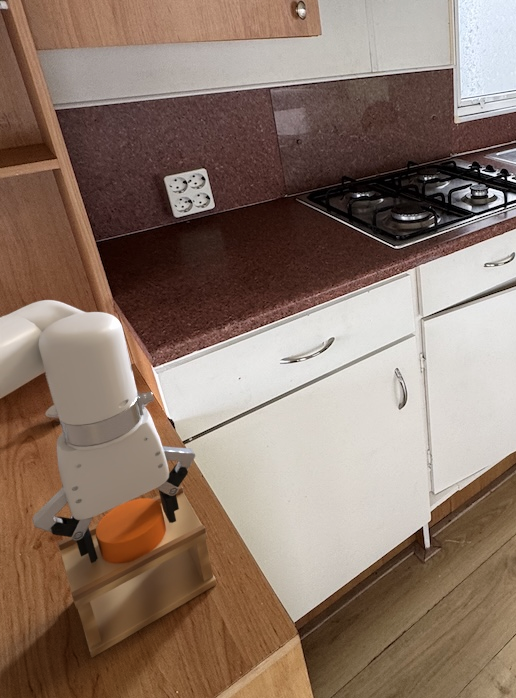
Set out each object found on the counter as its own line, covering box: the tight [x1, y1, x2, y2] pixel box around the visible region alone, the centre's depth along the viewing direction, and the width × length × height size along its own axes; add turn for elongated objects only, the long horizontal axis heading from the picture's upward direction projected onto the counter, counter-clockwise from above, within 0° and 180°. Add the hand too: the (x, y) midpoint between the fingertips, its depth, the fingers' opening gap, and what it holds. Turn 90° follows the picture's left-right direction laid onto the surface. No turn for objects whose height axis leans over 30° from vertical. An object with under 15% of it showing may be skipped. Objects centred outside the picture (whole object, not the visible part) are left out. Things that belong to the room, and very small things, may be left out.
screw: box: [44, 373, 60, 423], centre depth 106 cm, size 13×5×5 cm
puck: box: [95, 497, 166, 563], centre depth 72 cm, size 7×7×3 cm
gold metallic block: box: [57, 484, 218, 658], centre depth 74 cm, size 14×10×10 cm
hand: (132, 534), depth 72 cm, fingers open, 8 cm apart
